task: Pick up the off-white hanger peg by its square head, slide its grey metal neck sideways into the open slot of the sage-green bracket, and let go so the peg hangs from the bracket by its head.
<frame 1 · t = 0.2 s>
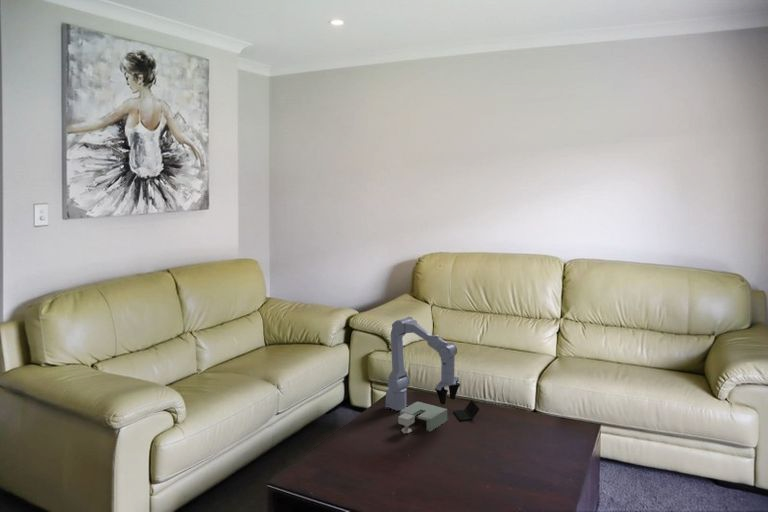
hand: (447, 401, 254), 10 cm above the table, tool pointing down, fingers open, 7 cm apart
handheld gaming console: (466, 416, 263), on the table
hanger peg: (406, 432, 246), on the table
slot bracket: (423, 421, 257), on the table
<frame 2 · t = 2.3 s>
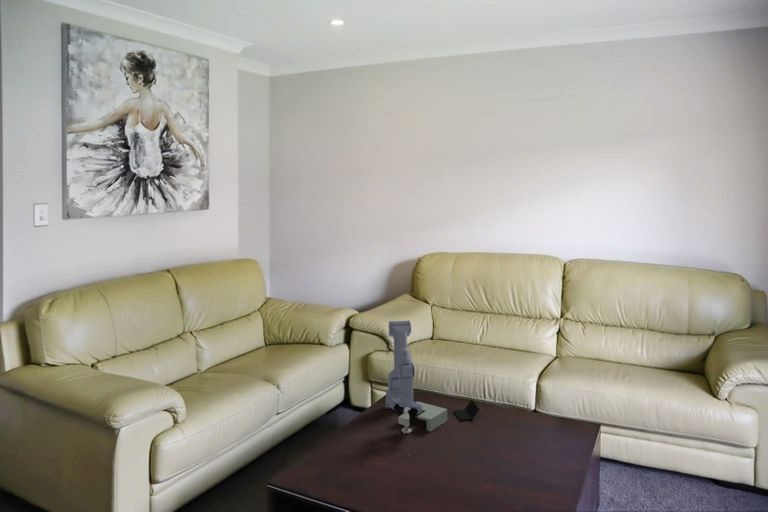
hand: (406, 423, 246), 4 cm above the table, tool pointing down, fingers closed on hanger peg, 5 cm apart
hanger peg: (406, 432, 246), on the table, touching gripper
everything else where it was.
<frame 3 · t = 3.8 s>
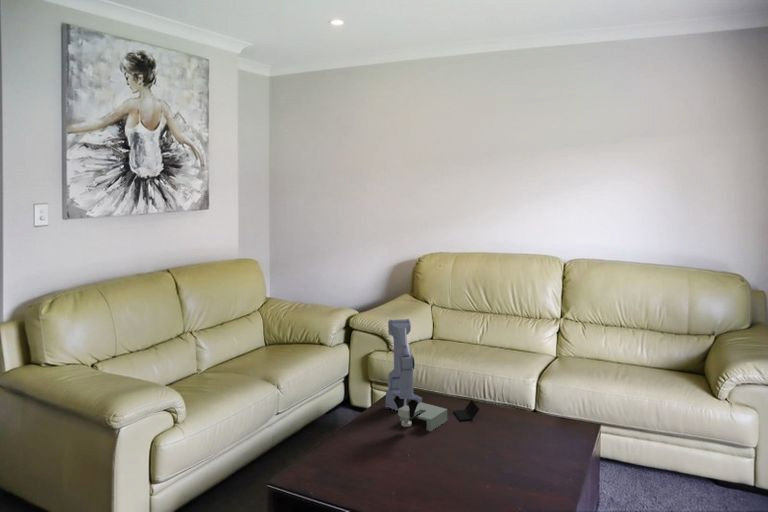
hand: (406, 415, 245), 8 cm above the table, tool pointing down, fingers closed on hanger peg, 5 cm apart
hanger peg: (406, 424, 246), point 3 cm above the table, touching gripper
everything else where it was.
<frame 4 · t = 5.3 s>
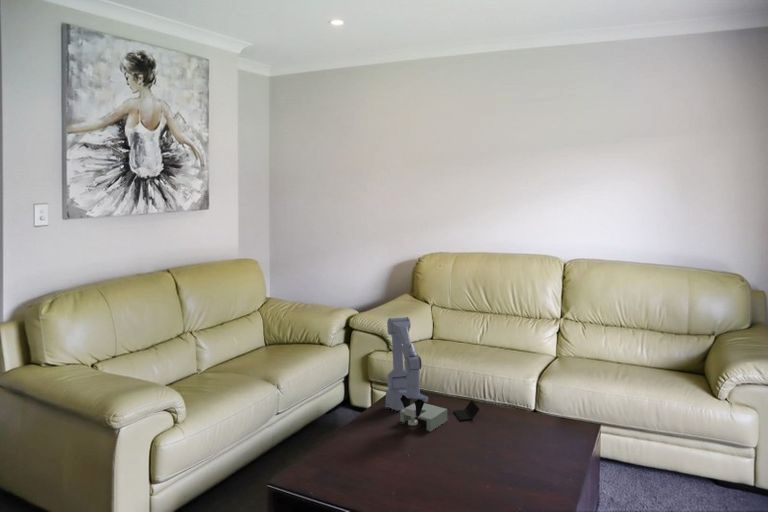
hand: (412, 414, 249), 6 cm above the table, tool pointing down, fingers closed on hanger peg, 5 cm apart
hanger peg: (412, 423, 250), point 2 cm above the table, touching gripper
everything else where it was.
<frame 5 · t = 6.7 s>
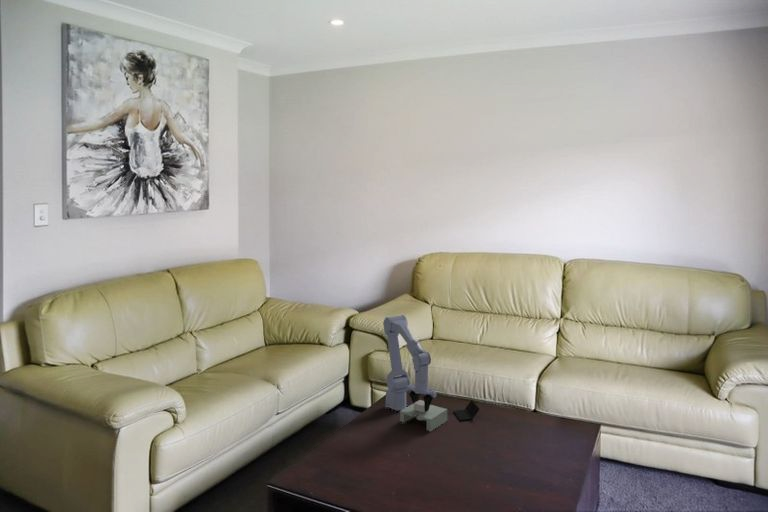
hand: (421, 409, 255), 6 cm above the table, tool pointing down, fingers closed on hanger peg, 5 cm apart
hanger peg: (421, 418, 255), point 2 cm above the table, touching gripper
everything else where it was.
when the fingers open (6 cm above the table, at t = 8.1 s): hanger peg stays where it is, resting on slot bracket.
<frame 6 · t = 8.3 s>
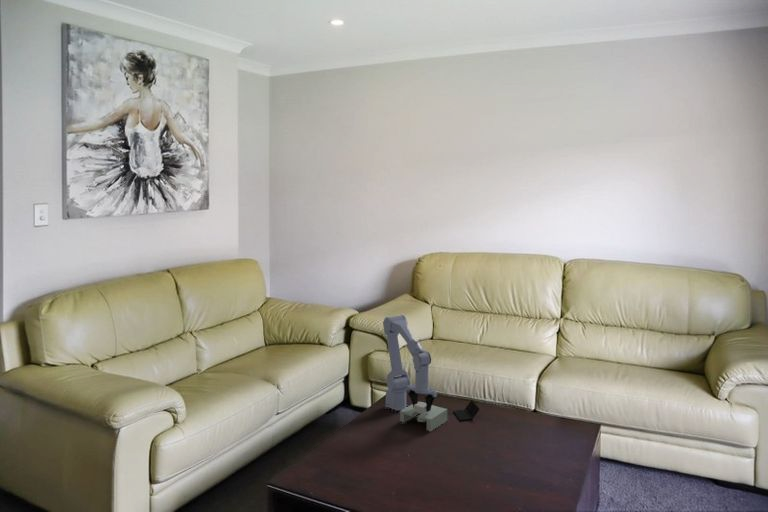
hand: (421, 409, 255), 6 cm above the table, tool pointing down, fingers open, 6 cm apart
hanger peg: (421, 420, 255), point 1 cm above the table, touching slot bracket
everything else where it was.
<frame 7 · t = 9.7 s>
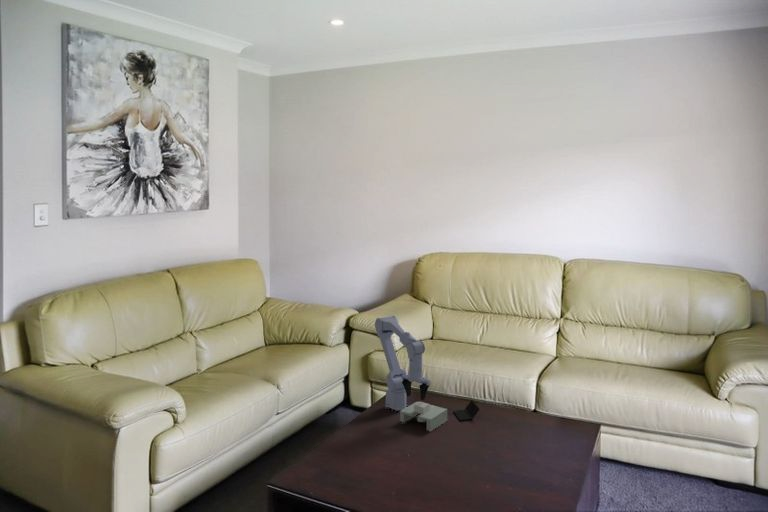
hand: (415, 397, 259), 10 cm above the table, tool pointing down, fingers open, 7 cm apart
nothing on the table moved.
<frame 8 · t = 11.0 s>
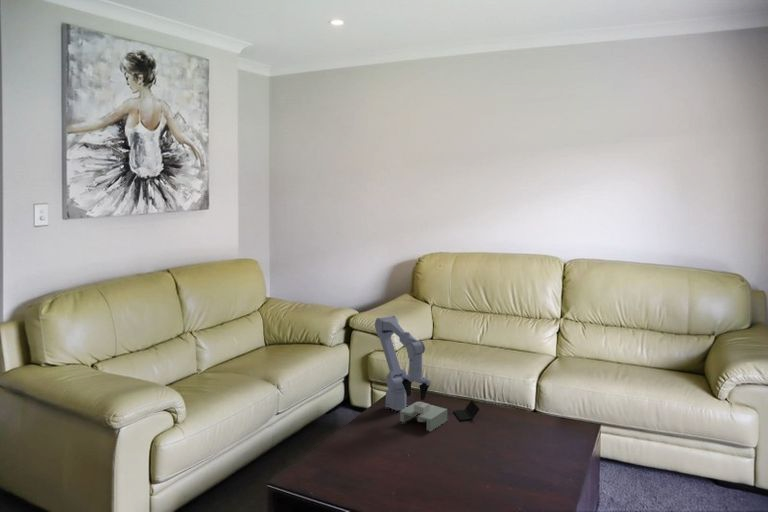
hand: (415, 397, 259), 10 cm above the table, tool pointing down, fingers open, 7 cm apart
nothing on the table moved.
at the end: hanger peg 0.5 cm from the target spot on the slot bracket, point 1.3 cm above the slot bracket's base; hanger peg touching slot bracket; hanger peg tilted 0° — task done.
